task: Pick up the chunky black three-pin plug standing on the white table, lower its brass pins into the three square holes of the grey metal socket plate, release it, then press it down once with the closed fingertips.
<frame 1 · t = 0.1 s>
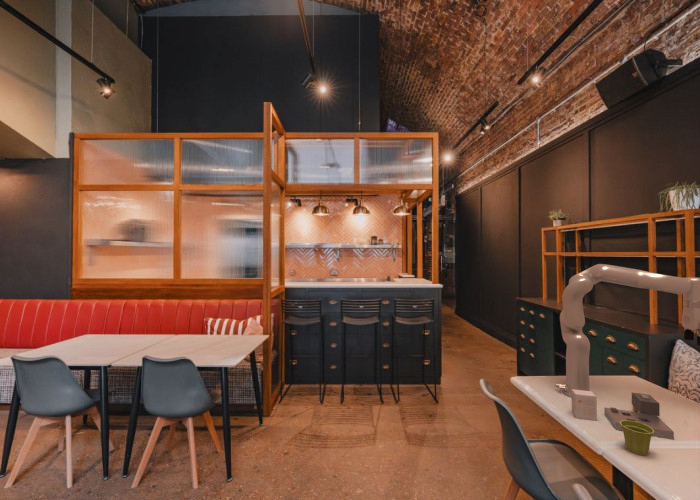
hand: (695, 342, 148), 31 cm above the table, fingers open, 9 cm apart
socket: (636, 425, 135), on the table
plant pot: (636, 450, 119), on the table
plug: (645, 415, 144), on the table
small box: (583, 417, 143), on the table
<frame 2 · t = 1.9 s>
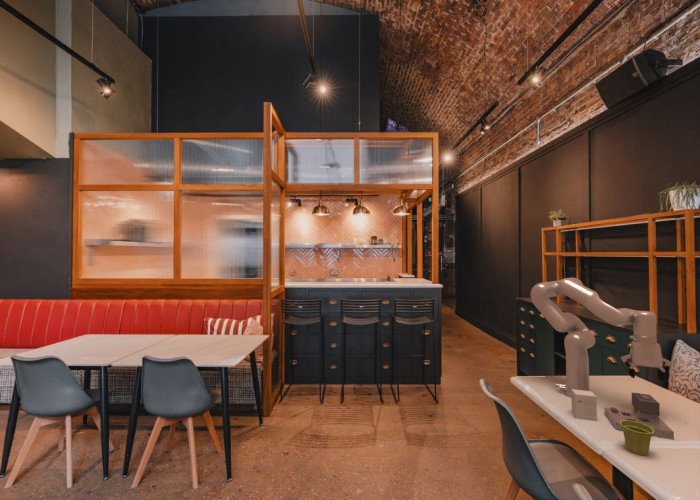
hand: (646, 378, 144), 17 cm above the table, fingers open, 9 cm apart
nothing on the table moved.
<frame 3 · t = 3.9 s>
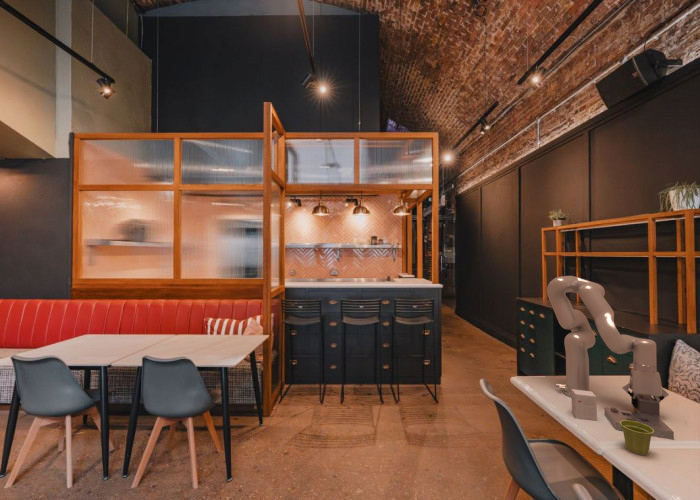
hand: (645, 408, 144), 3 cm above the table, fingers closed on plug, 6 cm apart
plug: (645, 415, 144), on the table, touching gripper
everything else where it was.
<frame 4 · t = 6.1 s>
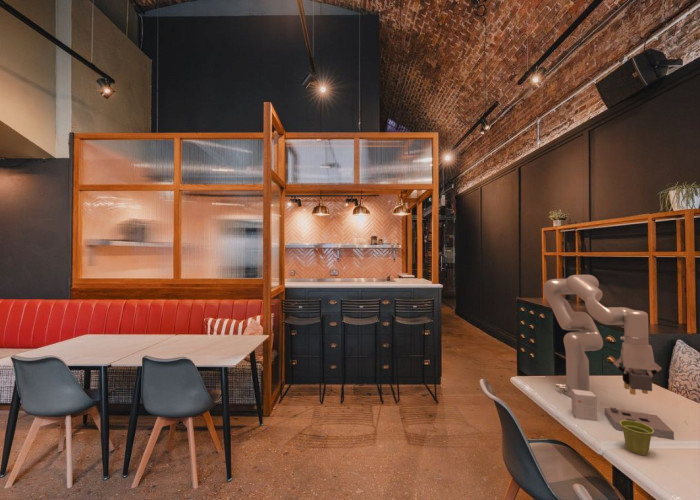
hand: (636, 383, 136), 18 cm above the table, fingers closed on plug, 6 cm apart
plug: (637, 392, 135), point 14 cm above the table, touching gripper
everything else where it was.
when the fingers open (4 cm above the table, at t = 8.3 s): plug stays where it is, resting on socket.
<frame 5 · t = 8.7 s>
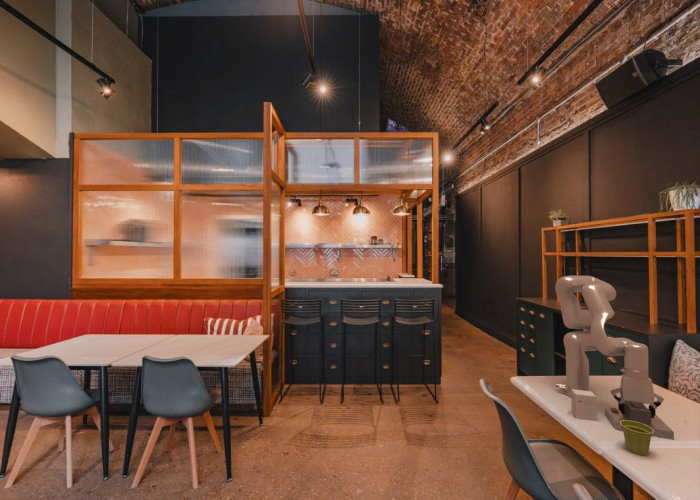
hand: (636, 414, 135), 5 cm above the table, fingers open, 9 cm apart
plug: (636, 425, 135), resting on socket
everything else where it was.
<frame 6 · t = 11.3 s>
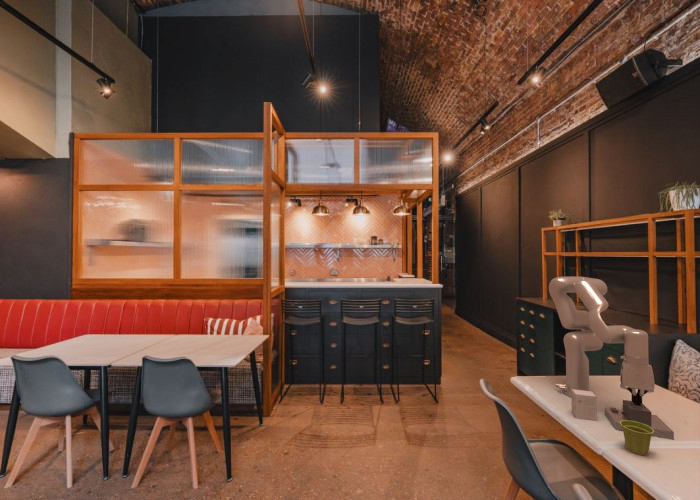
hand: (636, 404, 135), 9 cm above the table, fingers closed
plug: (636, 425, 135), resting on socket, touching gripper
everything else where it was.
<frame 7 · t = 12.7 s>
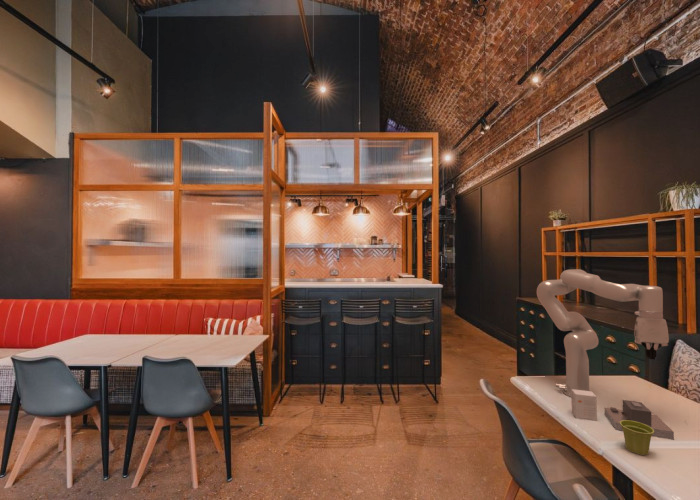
hand: (650, 358, 138), 27 cm above the table, fingers closed
plug: (636, 425, 135), resting on socket
everything else where it was.
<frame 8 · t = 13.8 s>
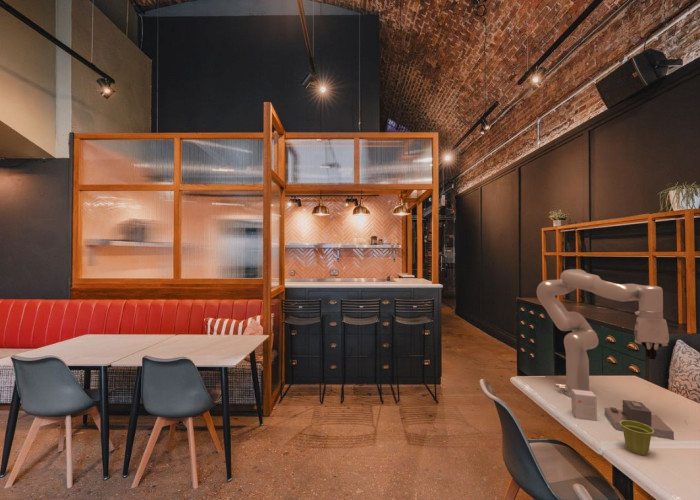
hand: (651, 358, 138), 27 cm above the table, fingers closed
nothing on the table moved.
at the end: plug 0.0 cm off-centre on the socket, point 0.4 cm above the socket's base; plug tilted 0°; the gripper is holding nothing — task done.
